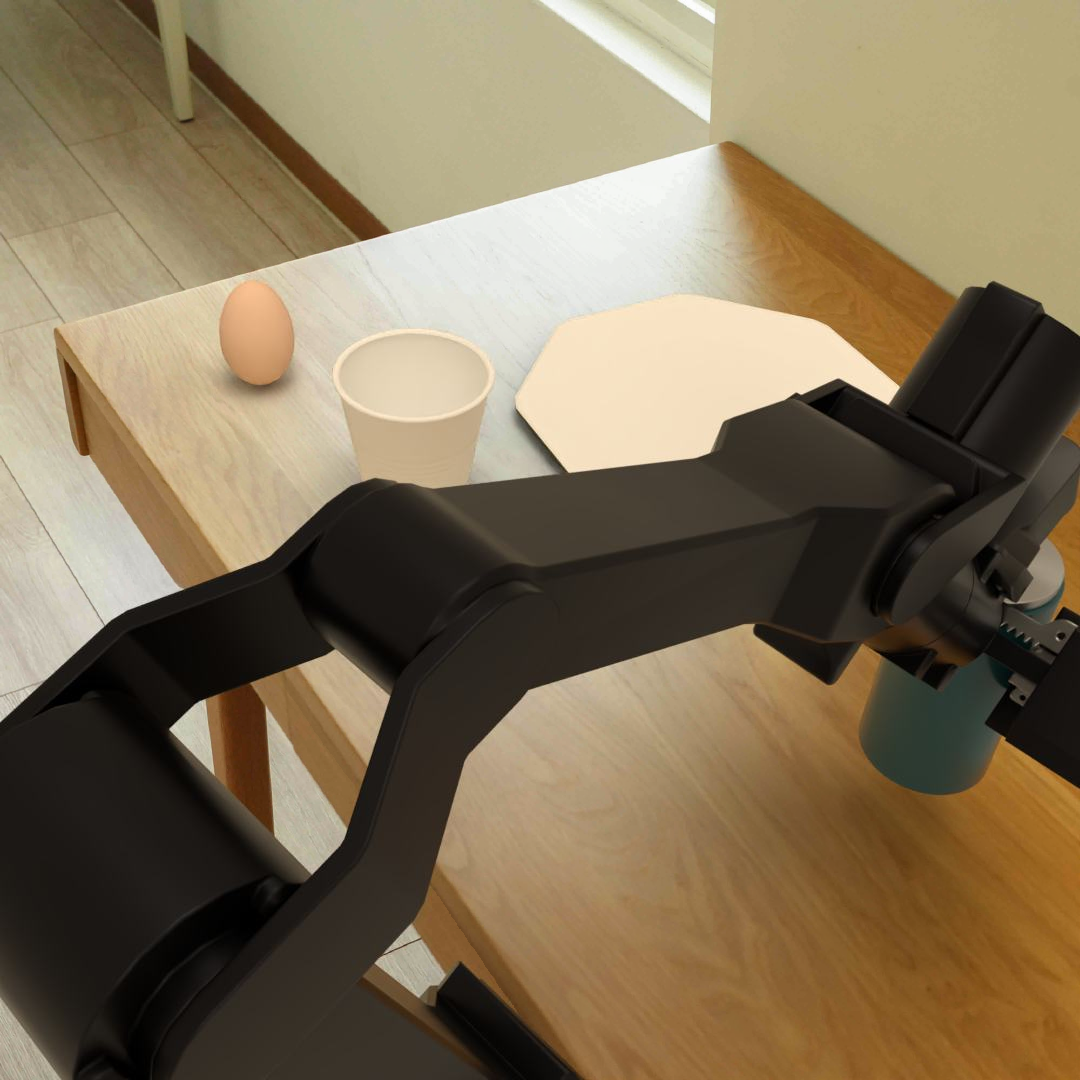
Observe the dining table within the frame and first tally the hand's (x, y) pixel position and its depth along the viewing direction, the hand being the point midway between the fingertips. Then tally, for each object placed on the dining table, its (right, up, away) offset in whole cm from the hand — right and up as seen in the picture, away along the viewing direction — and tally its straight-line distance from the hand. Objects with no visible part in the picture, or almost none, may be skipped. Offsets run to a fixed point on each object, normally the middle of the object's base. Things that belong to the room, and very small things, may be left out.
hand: (972, 640), depth 65 cm
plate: (-8, +14, +34) cm, 37 cm away
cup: (-29, +7, +24) cm, 39 cm away
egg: (-41, +16, +34) cm, 56 cm away
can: (-1, -6, +4) cm, 7 cm away
